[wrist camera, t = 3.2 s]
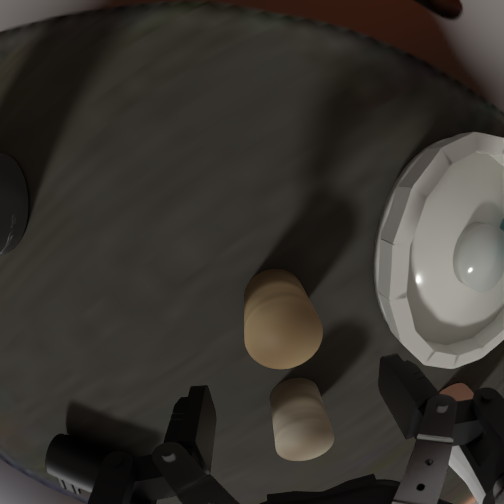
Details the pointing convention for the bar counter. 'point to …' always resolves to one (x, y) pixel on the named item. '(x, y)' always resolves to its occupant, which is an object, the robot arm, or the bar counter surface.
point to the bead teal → (502, 225)
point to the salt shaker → (457, 456)
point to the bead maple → (300, 420)
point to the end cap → (74, 462)
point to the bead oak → (280, 320)
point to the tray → (445, 251)
